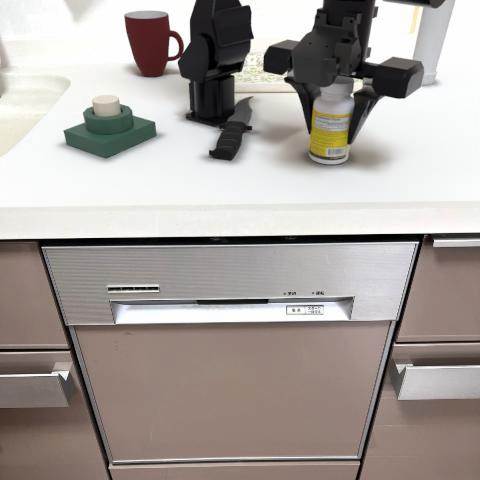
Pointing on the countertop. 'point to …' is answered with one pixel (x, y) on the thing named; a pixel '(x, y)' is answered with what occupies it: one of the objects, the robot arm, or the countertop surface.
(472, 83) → the countertop surface
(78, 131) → the green peg holder
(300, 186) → the countertop surface
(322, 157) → the supplement bottle
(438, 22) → the white tall cylinder
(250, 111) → the knife
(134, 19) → the mug
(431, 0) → the robot arm
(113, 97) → the cream short cylinder
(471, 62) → the countertop surface
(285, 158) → the countertop surface
